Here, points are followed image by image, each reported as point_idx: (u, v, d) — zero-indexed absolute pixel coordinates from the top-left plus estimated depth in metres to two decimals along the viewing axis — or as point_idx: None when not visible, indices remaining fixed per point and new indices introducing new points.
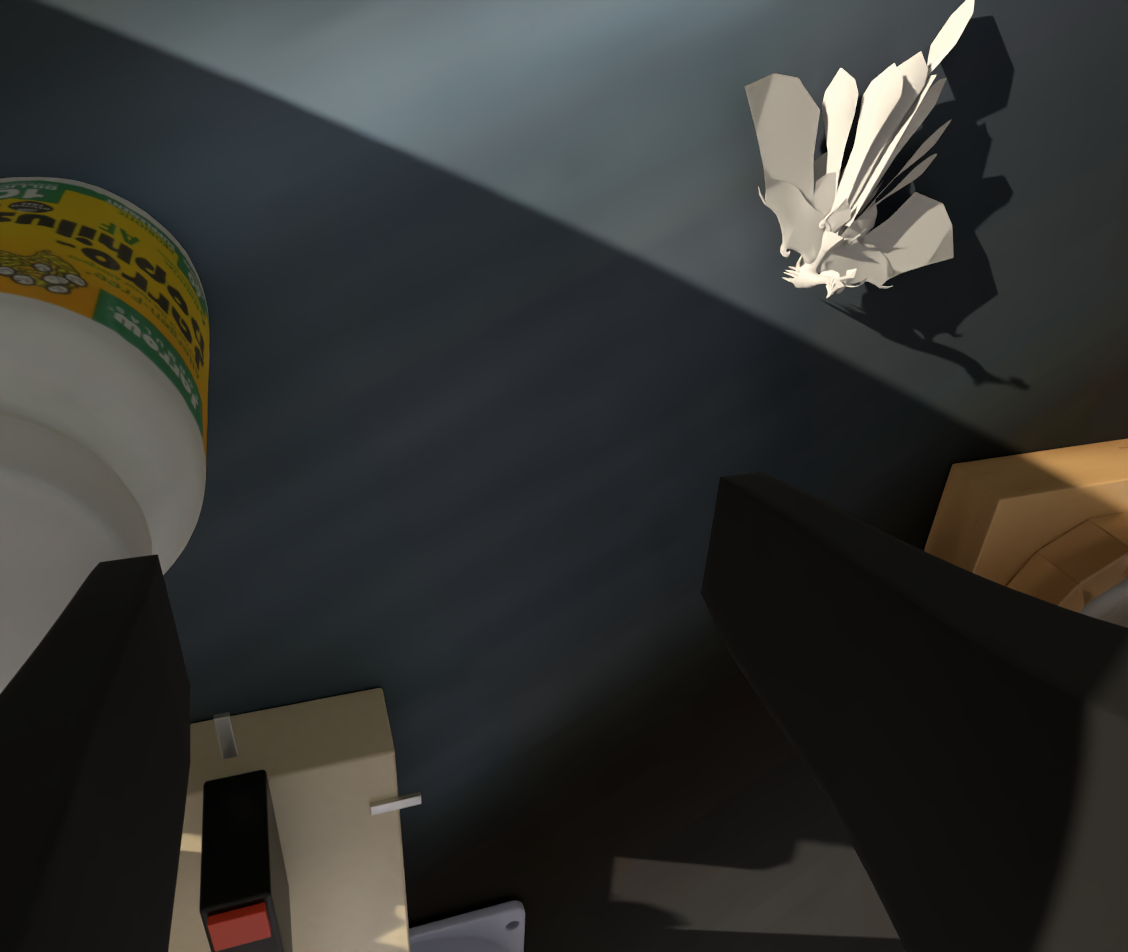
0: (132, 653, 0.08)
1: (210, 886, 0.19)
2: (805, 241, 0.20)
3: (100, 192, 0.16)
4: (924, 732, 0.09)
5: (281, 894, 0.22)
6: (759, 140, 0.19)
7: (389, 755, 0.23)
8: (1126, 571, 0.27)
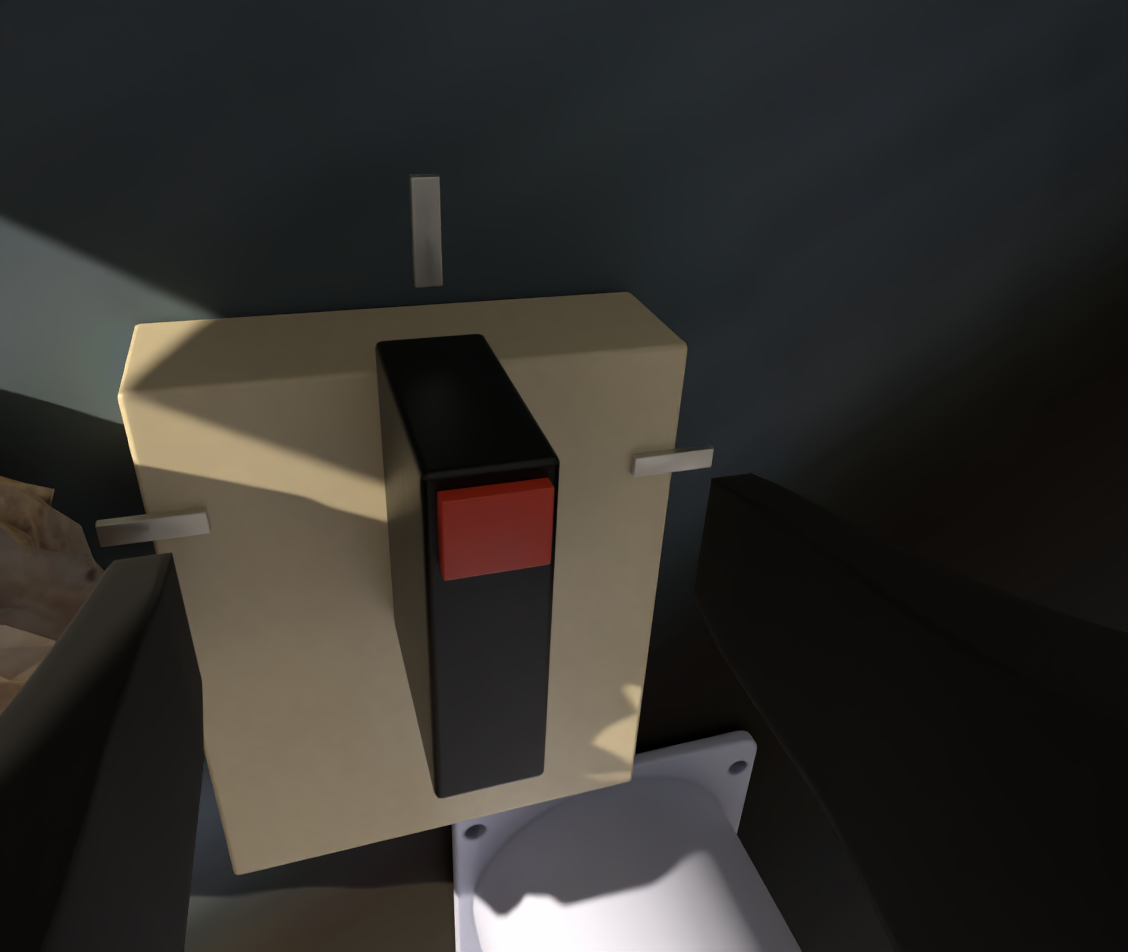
0: (149, 650, 0.08)
1: (433, 446, 0.09)
2: None
3: None
4: (913, 734, 0.09)
5: None
6: None
7: (679, 351, 0.13)
8: None
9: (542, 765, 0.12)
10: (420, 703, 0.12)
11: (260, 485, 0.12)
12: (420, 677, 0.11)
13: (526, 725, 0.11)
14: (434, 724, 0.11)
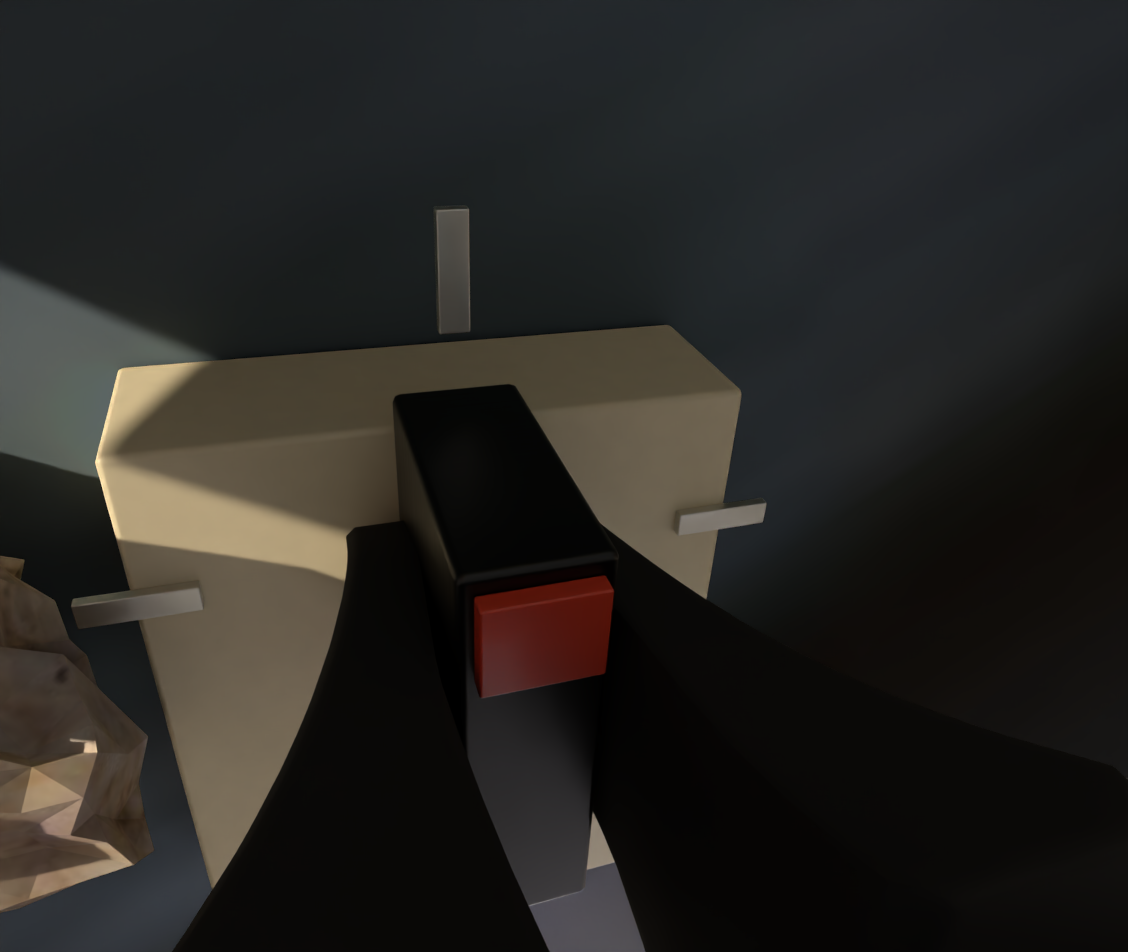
0: None
1: (467, 537, 0.08)
2: None
3: None
4: (668, 796, 0.08)
5: None
6: None
7: (733, 398, 0.12)
8: None
9: (584, 880, 0.10)
10: None
11: (260, 555, 0.11)
12: None
13: (568, 841, 0.10)
14: None
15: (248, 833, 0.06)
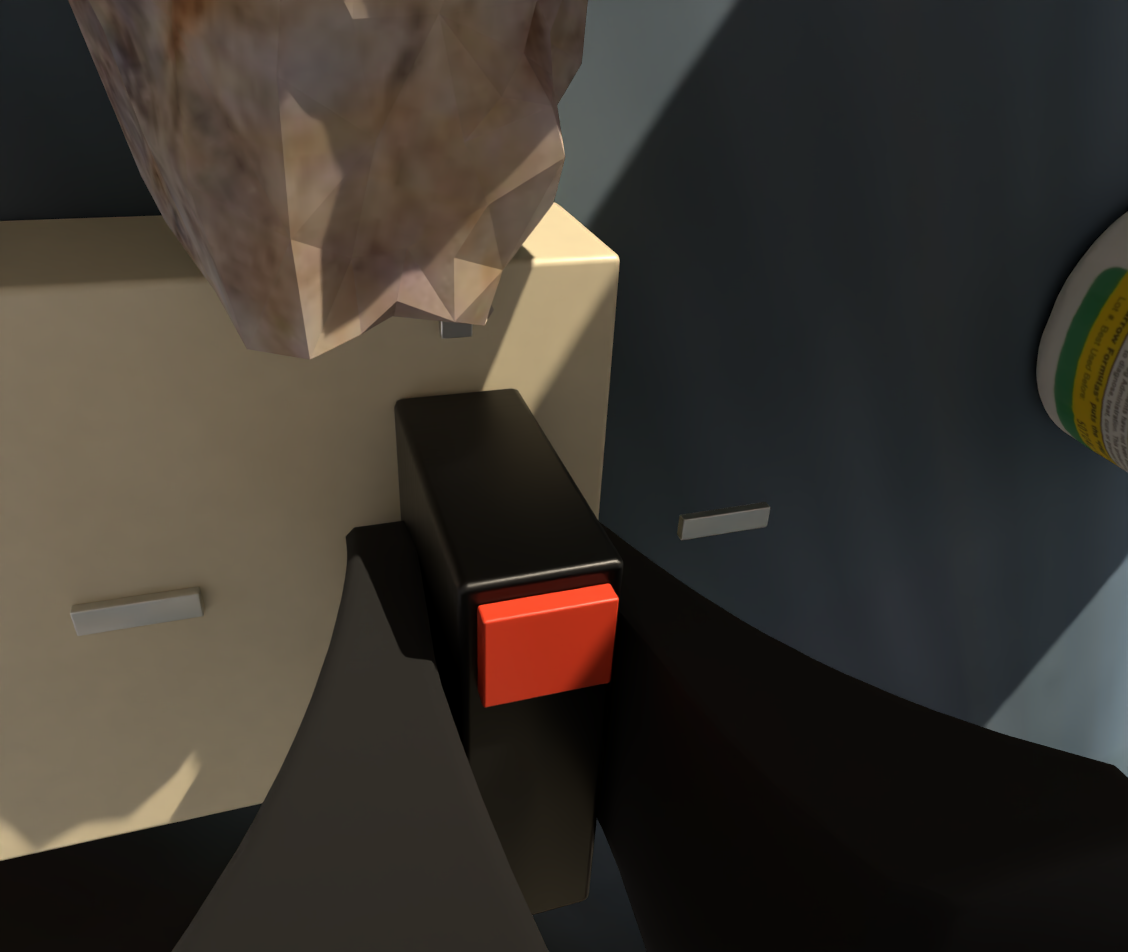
0: None
1: (471, 545, 0.08)
2: None
3: None
4: (669, 796, 0.08)
5: None
6: None
7: None
8: None
9: (587, 889, 0.10)
10: None
11: (488, 388, 0.10)
12: None
13: (571, 850, 0.09)
14: None
15: (247, 833, 0.06)
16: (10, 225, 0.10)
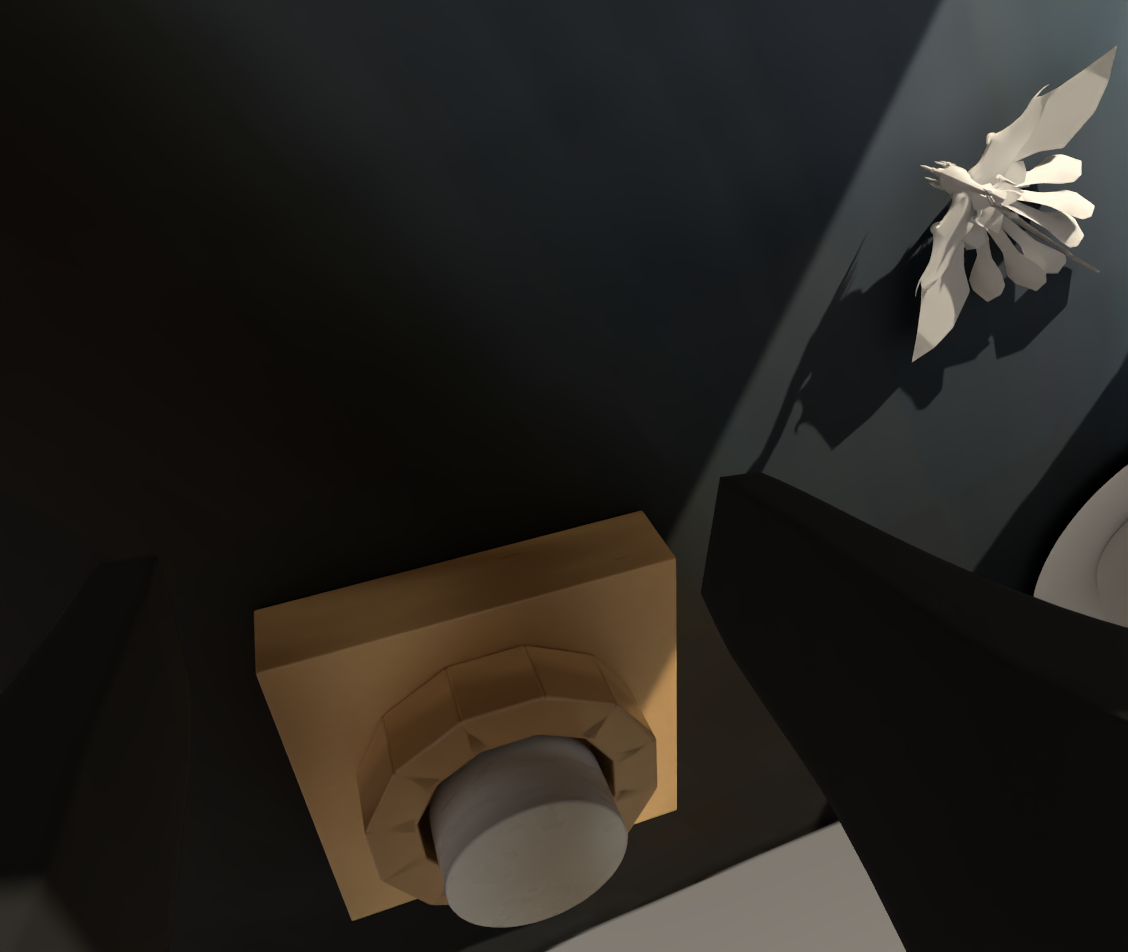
0: (132, 653, 0.08)
1: None
2: (989, 162, 0.19)
3: None
4: (924, 732, 0.09)
5: None
6: (1077, 76, 0.19)
7: None
8: (626, 752, 0.21)
9: None
10: None
11: None
12: None
13: None
14: None
15: None
16: None
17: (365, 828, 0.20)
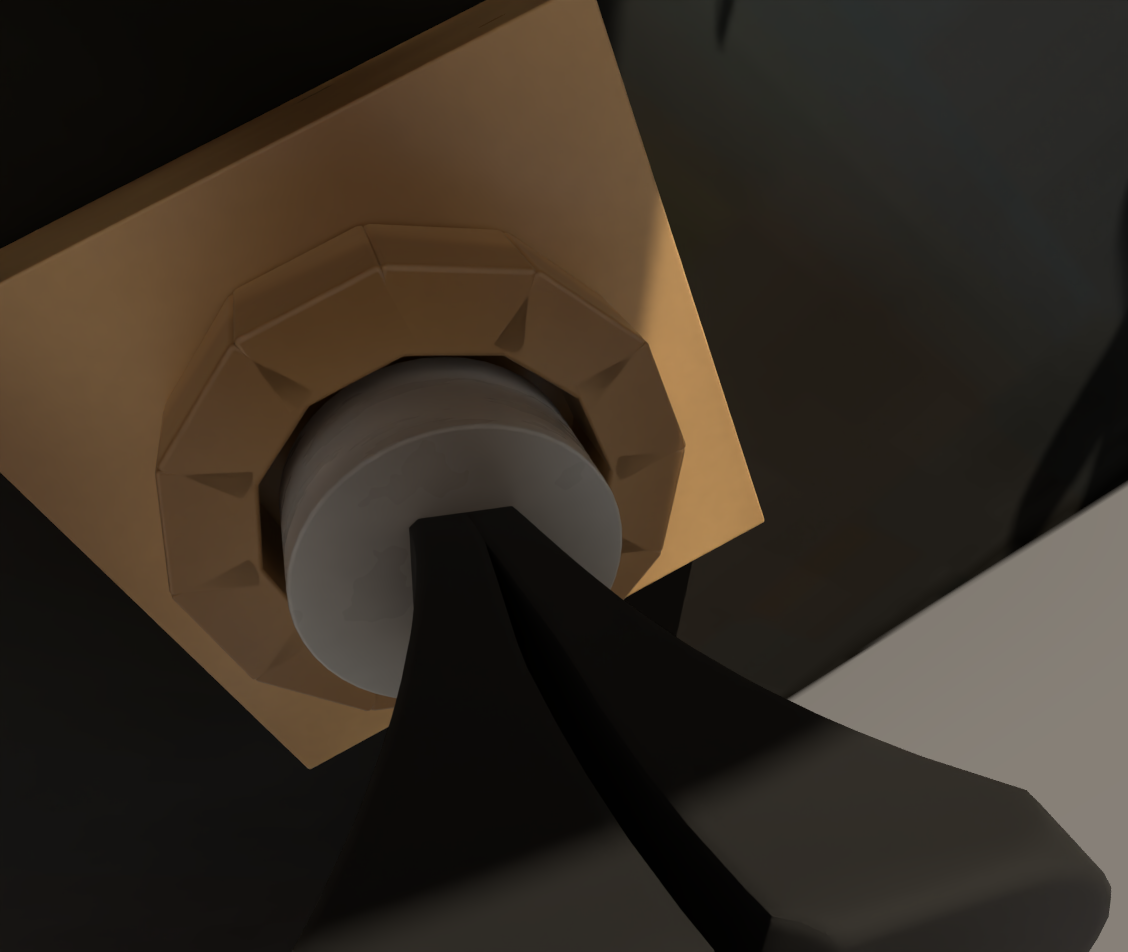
0: None
1: None
2: None
3: None
4: None
5: None
6: None
7: None
8: (598, 377, 0.12)
9: None
10: None
11: None
12: None
13: None
14: None
15: (362, 807, 0.06)
16: None
17: (170, 590, 0.12)
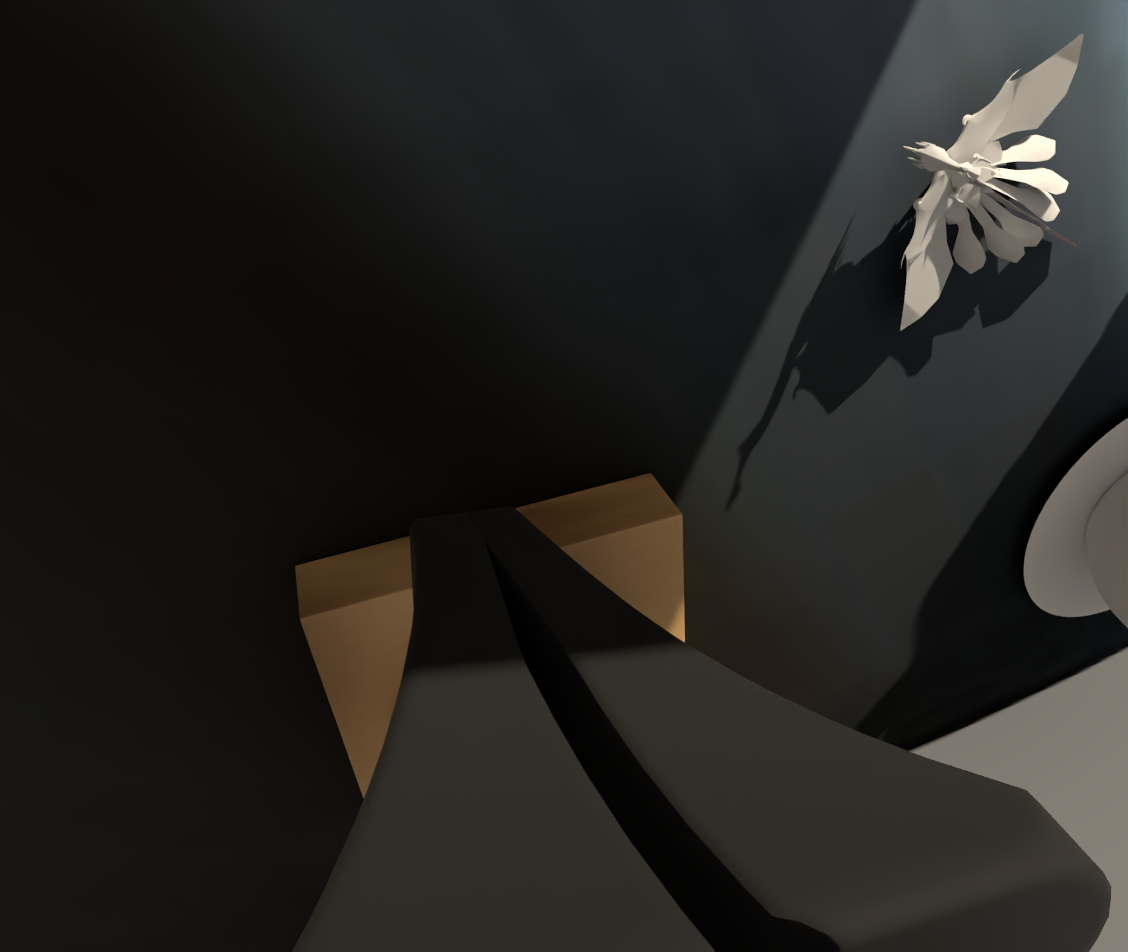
0: None
1: None
2: (966, 142, 0.21)
3: None
4: None
5: None
6: (1047, 60, 0.21)
7: None
8: None
9: None
10: None
11: None
12: None
13: None
14: None
15: (362, 807, 0.06)
16: None
17: None
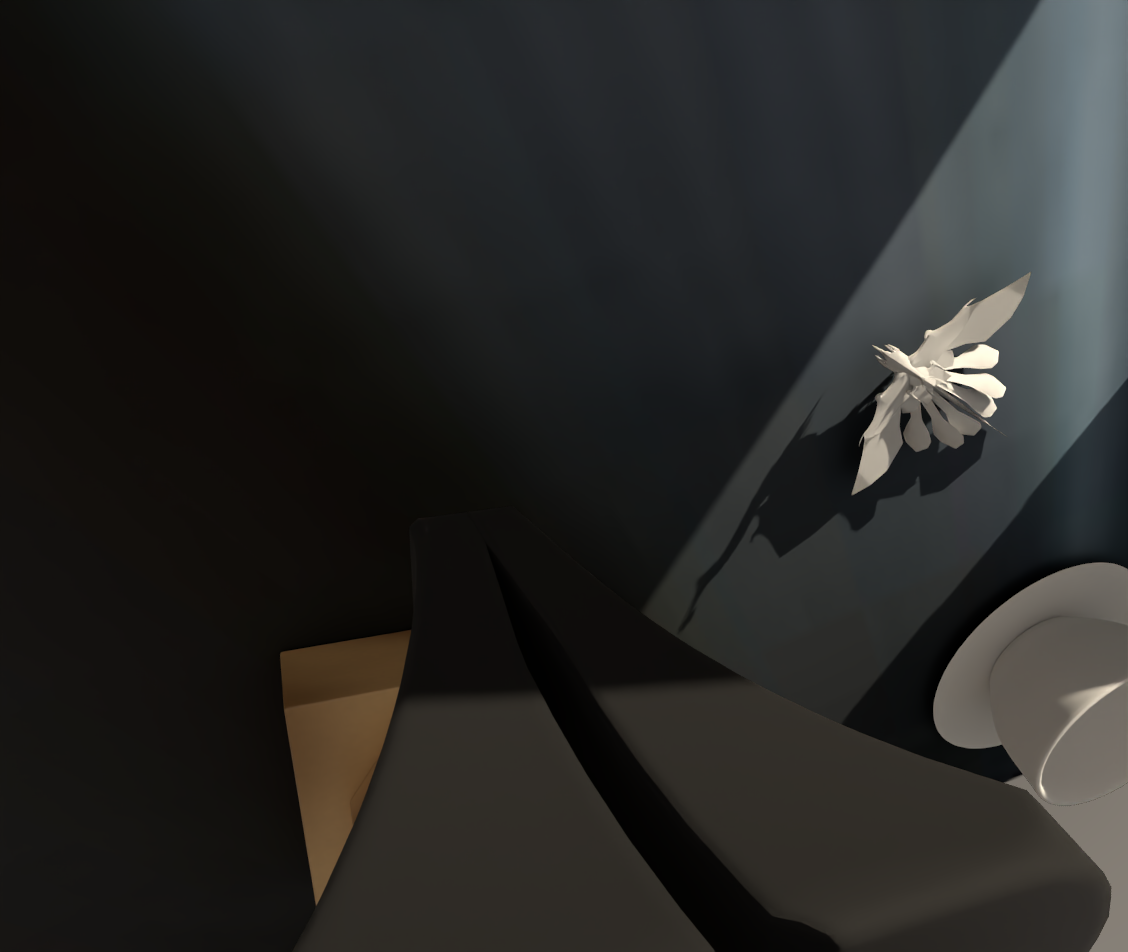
0: None
1: None
2: (925, 351, 0.24)
3: None
4: None
5: None
6: (998, 292, 0.24)
7: None
8: None
9: None
10: None
11: None
12: None
13: None
14: None
15: (363, 807, 0.06)
16: None
17: None
